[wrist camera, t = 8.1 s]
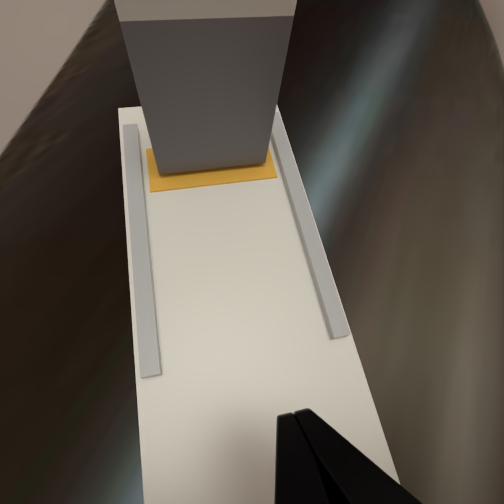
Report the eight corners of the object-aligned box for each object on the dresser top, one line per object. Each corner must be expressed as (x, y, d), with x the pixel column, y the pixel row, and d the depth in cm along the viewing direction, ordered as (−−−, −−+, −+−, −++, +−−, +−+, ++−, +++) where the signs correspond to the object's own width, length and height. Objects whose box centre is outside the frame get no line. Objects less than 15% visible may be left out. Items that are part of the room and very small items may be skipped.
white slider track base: (388, 522, 15) (428, 548, 12) (163, 593, 13) (148, 643, 11) (269, 125, 24) (275, 88, 22) (128, 137, 23) (115, 100, 20)
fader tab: (265, 162, 19) (300, -17, 11) (159, 174, 18) (110, -14, 10) (258, 136, 20) (285, -50, 12) (155, 146, 19) (108, -50, 11)
